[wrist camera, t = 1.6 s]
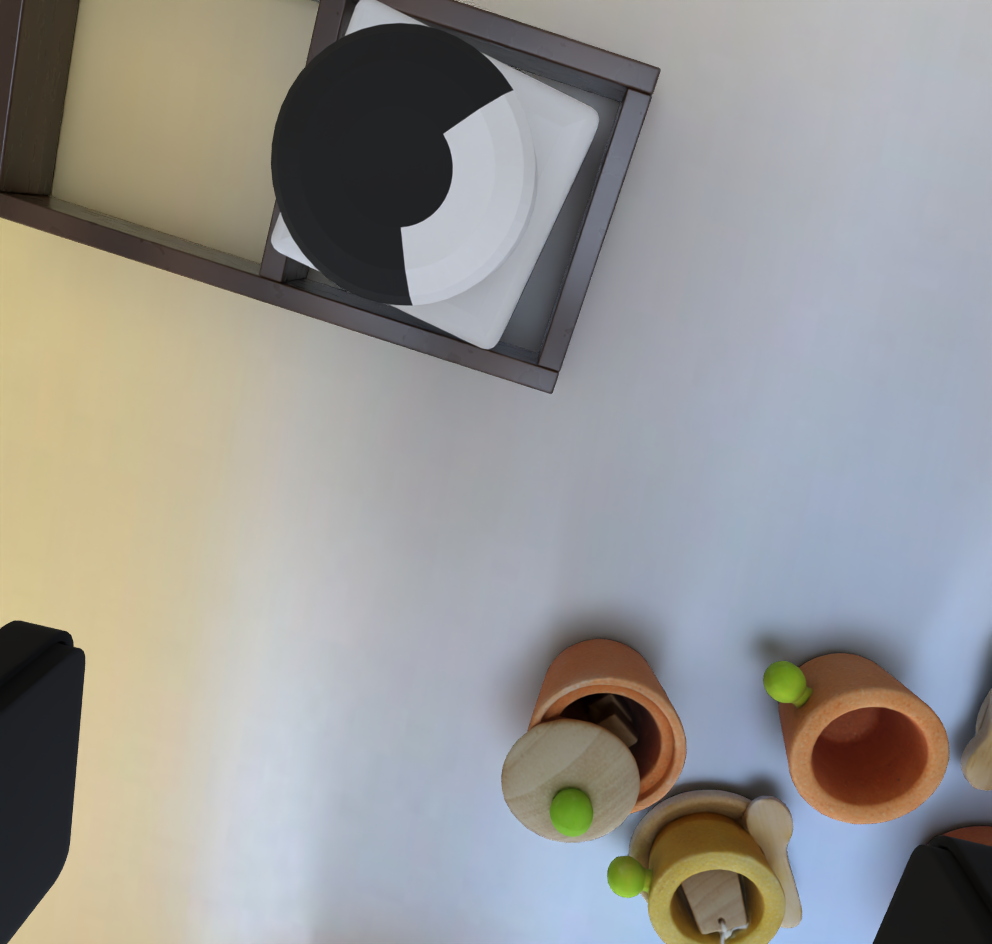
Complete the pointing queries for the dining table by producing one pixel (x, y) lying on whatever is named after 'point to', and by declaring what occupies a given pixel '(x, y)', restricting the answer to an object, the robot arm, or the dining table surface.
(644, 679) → the toy tea set
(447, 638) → the dining table surface
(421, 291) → the medicine bottle
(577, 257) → the frame
